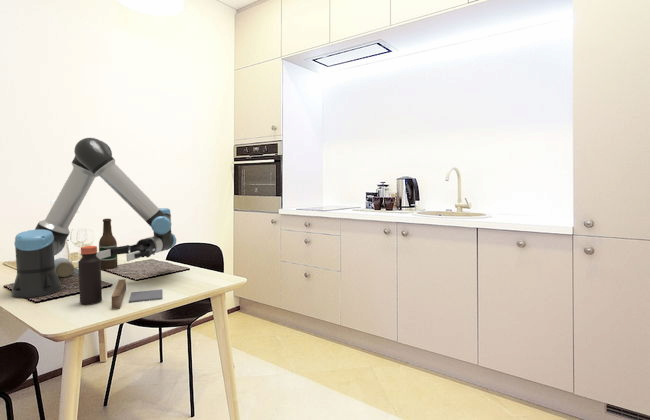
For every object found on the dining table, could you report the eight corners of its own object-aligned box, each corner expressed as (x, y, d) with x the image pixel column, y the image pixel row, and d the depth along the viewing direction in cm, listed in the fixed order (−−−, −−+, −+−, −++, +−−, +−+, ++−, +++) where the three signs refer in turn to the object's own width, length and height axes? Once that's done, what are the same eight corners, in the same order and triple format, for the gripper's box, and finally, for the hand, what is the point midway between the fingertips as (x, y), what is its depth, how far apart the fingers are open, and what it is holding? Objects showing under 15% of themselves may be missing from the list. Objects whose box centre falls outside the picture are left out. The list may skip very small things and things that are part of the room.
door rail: (111, 309, 129) (111, 296, 129) (119, 290, 149) (118, 279, 149) (119, 308, 130) (119, 295, 130) (126, 290, 150) (125, 279, 150)
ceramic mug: (56, 279, 164) (55, 261, 163) (50, 275, 169) (50, 258, 169) (83, 275, 172) (83, 258, 171) (77, 272, 177) (77, 255, 177)
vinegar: (81, 300, 138) (79, 245, 136) (103, 297, 141) (101, 244, 139) (78, 306, 132) (75, 249, 130) (100, 303, 135) (98, 248, 133)
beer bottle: (101, 266, 188) (99, 218, 186) (119, 265, 190) (117, 217, 188) (97, 269, 181) (95, 219, 178) (115, 269, 183) (114, 219, 181)
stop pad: (128, 302, 136) (128, 301, 136) (131, 293, 146) (131, 292, 146) (162, 299, 140) (162, 297, 140) (162, 290, 150) (162, 289, 150)
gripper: (174, 256, 163) (141, 268, 142) (124, 253, 168) (85, 264, 148) (174, 238, 162) (140, 248, 142) (123, 236, 168) (83, 245, 147)
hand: (111, 257), depth 145 cm, fingers open, 13 cm apart
